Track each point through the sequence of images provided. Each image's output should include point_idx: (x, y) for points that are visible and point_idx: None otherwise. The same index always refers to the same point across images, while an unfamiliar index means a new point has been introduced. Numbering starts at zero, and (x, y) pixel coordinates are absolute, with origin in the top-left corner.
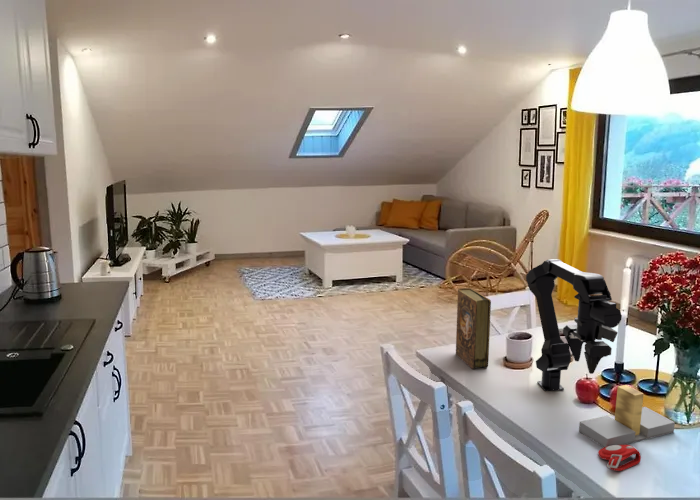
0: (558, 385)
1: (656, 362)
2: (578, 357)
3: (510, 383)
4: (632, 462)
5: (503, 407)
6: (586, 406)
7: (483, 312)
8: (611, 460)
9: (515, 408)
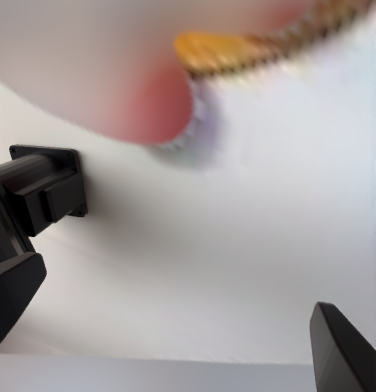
0: (72, 183)
1: None
2: (12, 281)
3: (48, 273)
4: None
5: (185, 348)
6: (207, 133)
7: None
8: None
9: (194, 330)
